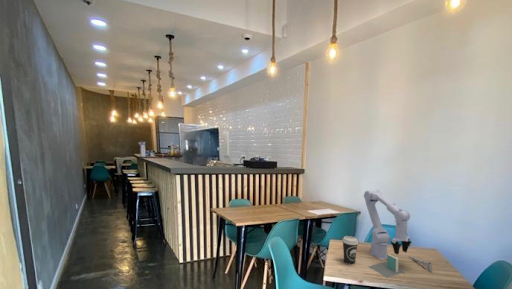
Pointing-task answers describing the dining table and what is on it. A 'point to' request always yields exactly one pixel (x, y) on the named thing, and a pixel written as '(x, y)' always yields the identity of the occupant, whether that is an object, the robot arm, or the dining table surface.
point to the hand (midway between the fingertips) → (400, 252)
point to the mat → (385, 270)
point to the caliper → (423, 263)
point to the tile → (392, 262)
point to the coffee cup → (349, 249)
